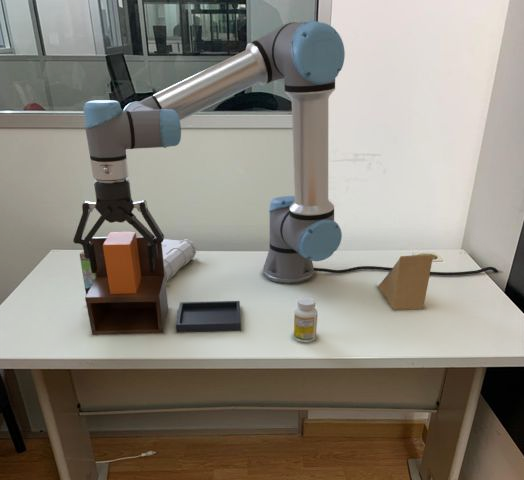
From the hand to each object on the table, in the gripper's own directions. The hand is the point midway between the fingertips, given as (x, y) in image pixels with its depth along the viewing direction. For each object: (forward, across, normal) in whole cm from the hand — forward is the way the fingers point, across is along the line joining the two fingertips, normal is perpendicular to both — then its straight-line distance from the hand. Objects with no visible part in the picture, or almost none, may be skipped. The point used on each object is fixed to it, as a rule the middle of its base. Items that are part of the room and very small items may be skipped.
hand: (123, 270), depth 126 cm
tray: (+14, +20, +1) cm, 24 cm away
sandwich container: (+14, +72, +11) cm, 74 cm away
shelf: (+14, 0, +1) cm, 14 cm away
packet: (+4, 0, 0) cm, 4 cm away
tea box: (+14, -6, +16) cm, 22 cm away
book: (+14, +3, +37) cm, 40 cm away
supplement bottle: (+14, +43, -10) cm, 46 cm away
